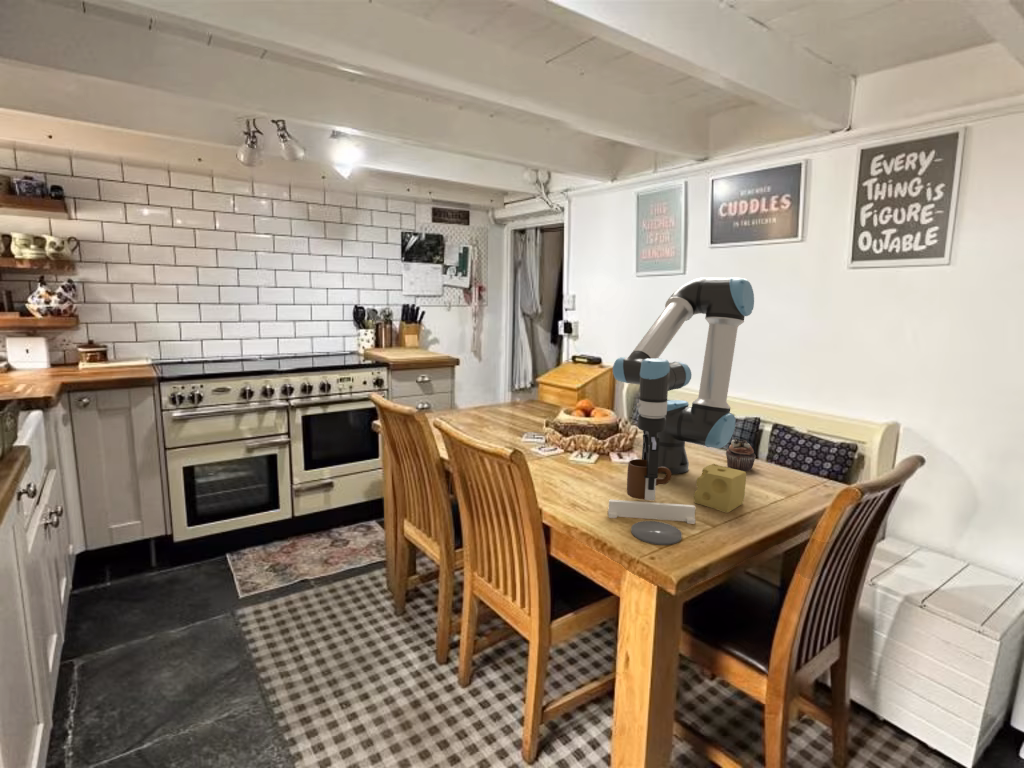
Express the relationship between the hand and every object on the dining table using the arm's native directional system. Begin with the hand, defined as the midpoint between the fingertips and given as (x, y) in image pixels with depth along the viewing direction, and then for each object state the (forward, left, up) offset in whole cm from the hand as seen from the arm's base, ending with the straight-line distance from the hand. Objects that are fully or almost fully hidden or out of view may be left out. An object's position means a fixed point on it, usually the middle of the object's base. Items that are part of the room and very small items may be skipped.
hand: (647, 494), depth 154 cm
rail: (+11, 0, -3) cm, 11 cm away
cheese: (-3, +21, -3) cm, 21 cm away
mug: (+1, 0, -1) cm, 1 cm away
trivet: (+21, 0, -3) cm, 21 cm away
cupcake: (-40, +37, -3) cm, 55 cm away
